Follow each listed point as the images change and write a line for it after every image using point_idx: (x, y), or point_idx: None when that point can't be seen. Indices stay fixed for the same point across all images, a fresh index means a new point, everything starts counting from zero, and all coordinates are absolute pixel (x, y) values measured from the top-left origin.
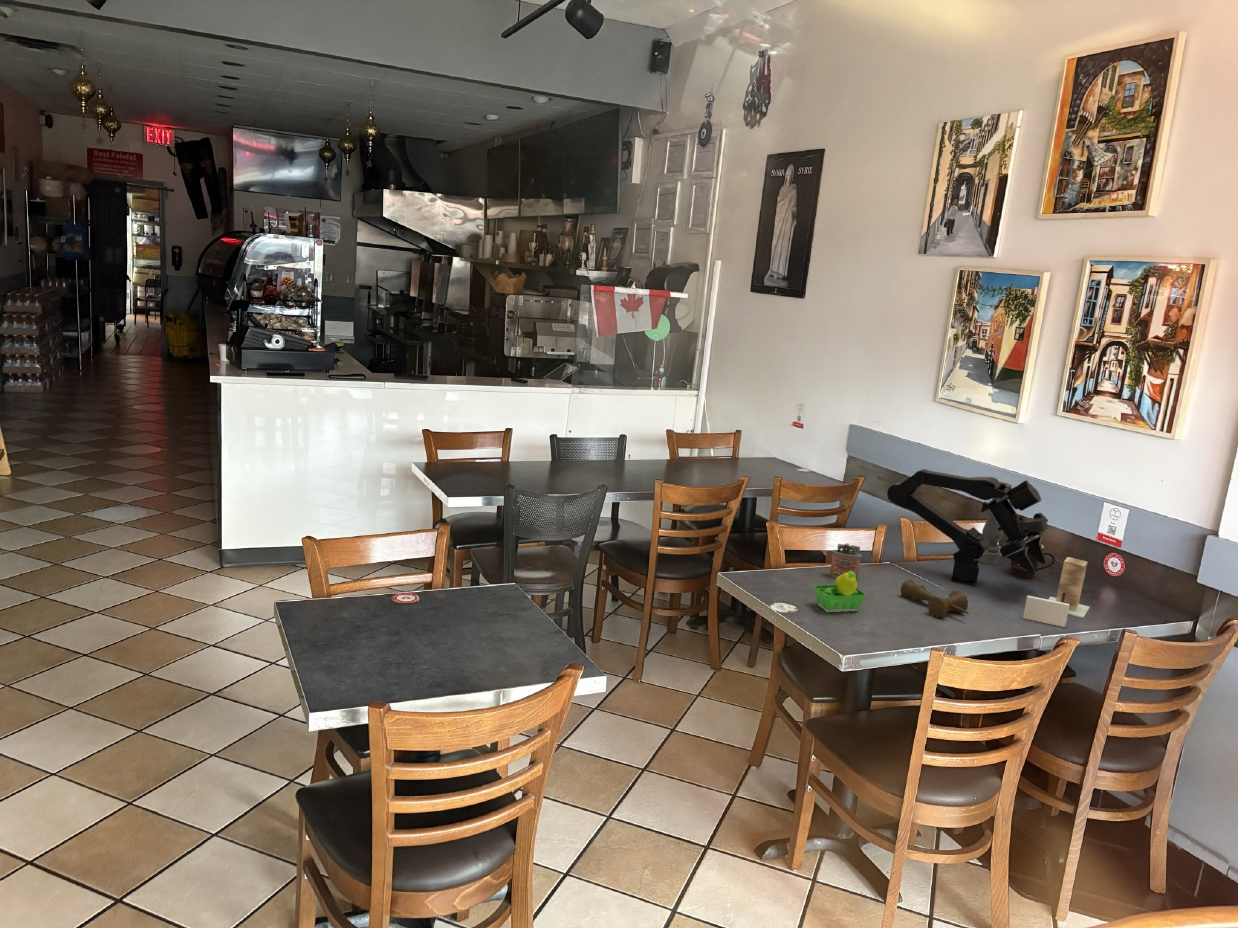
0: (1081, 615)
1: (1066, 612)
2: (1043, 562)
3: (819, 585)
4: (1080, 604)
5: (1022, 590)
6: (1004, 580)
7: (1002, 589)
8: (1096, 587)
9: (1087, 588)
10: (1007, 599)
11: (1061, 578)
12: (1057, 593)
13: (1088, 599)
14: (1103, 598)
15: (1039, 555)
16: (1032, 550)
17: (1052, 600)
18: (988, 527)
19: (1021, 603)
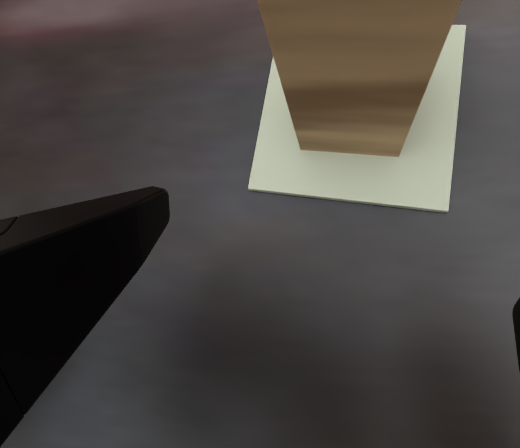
0: (448, 35)
1: None
2: (163, 209)
3: None
4: (274, 62)
5: (222, 325)
6: (115, 421)
7: (280, 439)
8: (2, 50)
9: (29, 74)
10: (459, 413)
11: (440, 42)
12: (412, 122)
13: (162, 52)
14: (114, 11)
15: (110, 250)
16: (37, 349)
17: (306, 175)
18: None
19: (471, 327)
